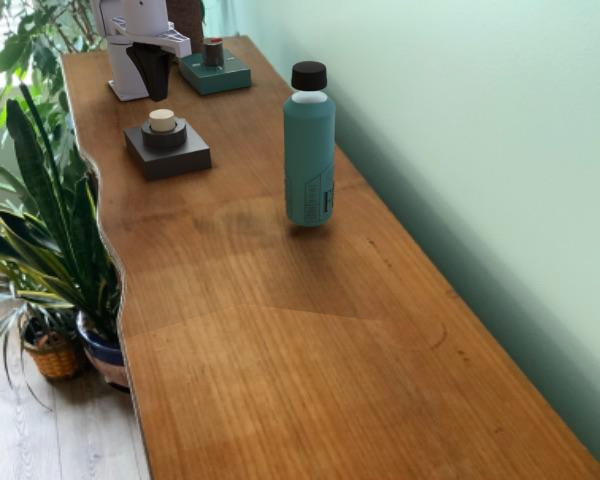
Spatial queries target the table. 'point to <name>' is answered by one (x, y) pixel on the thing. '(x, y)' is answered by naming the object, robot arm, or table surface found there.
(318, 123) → the beverage bottle
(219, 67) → the dial panel
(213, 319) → the table surface
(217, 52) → the knob
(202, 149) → the button base
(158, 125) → the push button
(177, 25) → the dark brown tall block
